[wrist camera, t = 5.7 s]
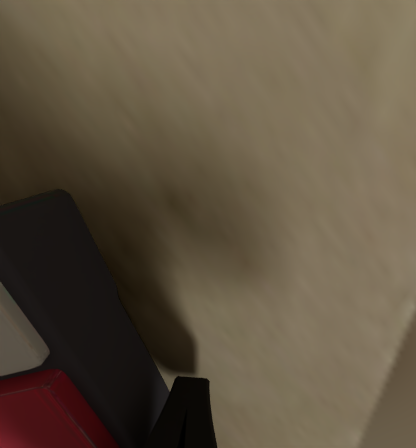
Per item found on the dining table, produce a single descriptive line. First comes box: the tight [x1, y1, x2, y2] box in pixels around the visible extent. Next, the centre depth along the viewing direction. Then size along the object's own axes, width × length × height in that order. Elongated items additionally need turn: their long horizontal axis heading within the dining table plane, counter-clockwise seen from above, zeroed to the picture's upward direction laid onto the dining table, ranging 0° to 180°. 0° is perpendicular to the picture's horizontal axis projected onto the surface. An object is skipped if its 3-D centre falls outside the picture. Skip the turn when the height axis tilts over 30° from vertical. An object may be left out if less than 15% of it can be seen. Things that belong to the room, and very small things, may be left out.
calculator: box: [0, 189, 170, 448], centre depth 9 cm, size 11×4×15 cm
